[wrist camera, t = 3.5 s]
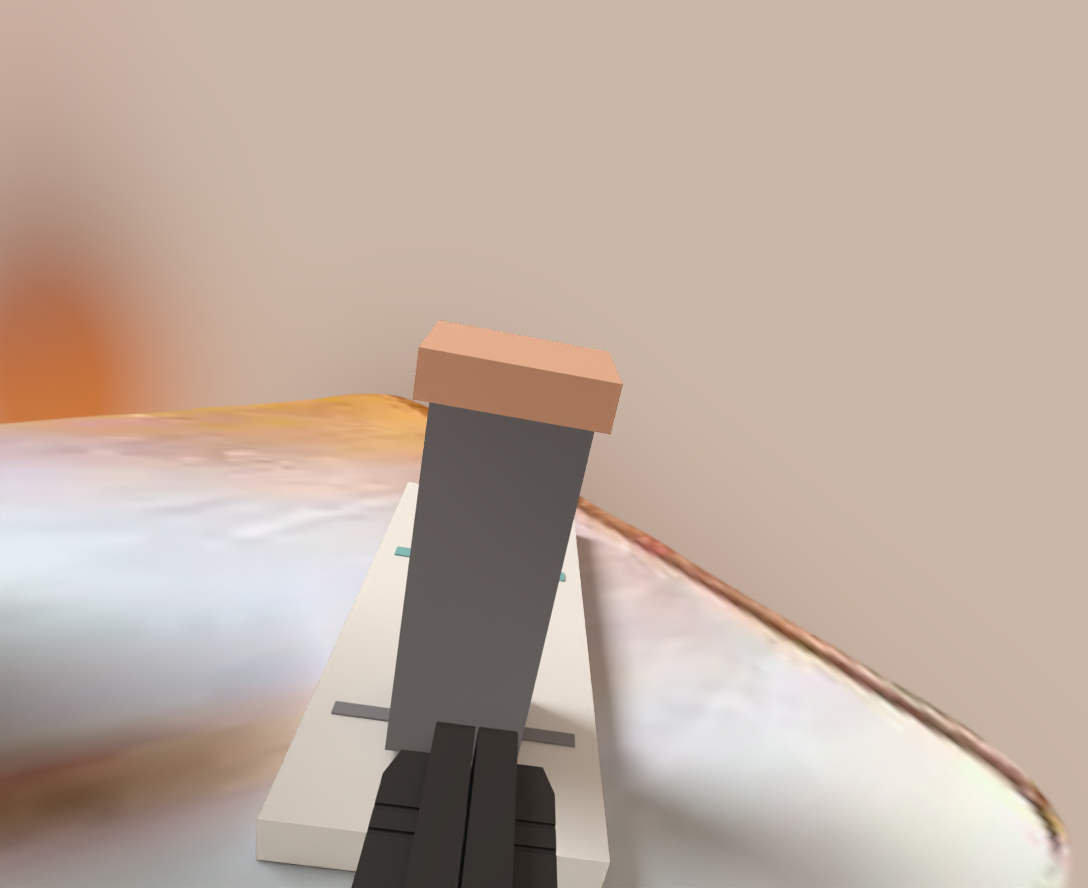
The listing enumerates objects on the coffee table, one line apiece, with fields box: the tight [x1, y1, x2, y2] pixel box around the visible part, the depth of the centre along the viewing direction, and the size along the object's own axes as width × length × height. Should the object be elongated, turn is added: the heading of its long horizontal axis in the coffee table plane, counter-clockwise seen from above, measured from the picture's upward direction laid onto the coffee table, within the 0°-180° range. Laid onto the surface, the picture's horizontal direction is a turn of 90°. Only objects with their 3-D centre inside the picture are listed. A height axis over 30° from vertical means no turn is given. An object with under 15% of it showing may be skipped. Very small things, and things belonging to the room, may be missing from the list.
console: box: [256, 482, 610, 888], centre depth 34 cm, size 12×26×2 cm, turn 0°
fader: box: [385, 320, 623, 759], centre depth 23 cm, size 6×4×16 cm, turn 90°
